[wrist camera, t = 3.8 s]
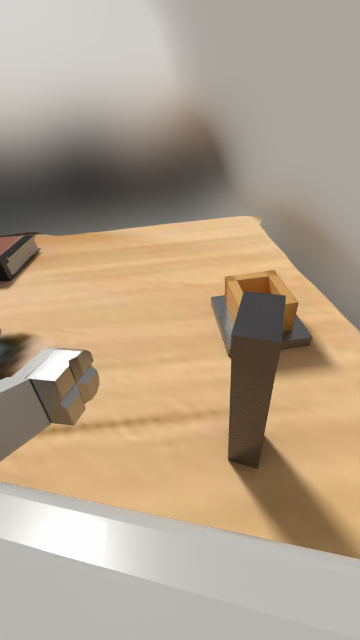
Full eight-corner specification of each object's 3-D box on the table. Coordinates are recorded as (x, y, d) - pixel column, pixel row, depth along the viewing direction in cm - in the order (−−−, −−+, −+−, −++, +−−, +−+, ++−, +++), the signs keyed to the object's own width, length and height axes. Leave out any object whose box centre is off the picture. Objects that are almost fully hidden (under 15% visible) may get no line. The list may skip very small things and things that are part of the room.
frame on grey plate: (310, 344, 40) (320, 308, 36) (228, 356, 40) (229, 321, 36) (276, 295, 51) (281, 262, 47) (211, 303, 50) (210, 272, 46)
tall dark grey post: (257, 473, 28) (281, 342, 17) (227, 464, 29) (230, 334, 17) (262, 428, 31) (286, 295, 20) (235, 421, 32) (243, 291, 21)
